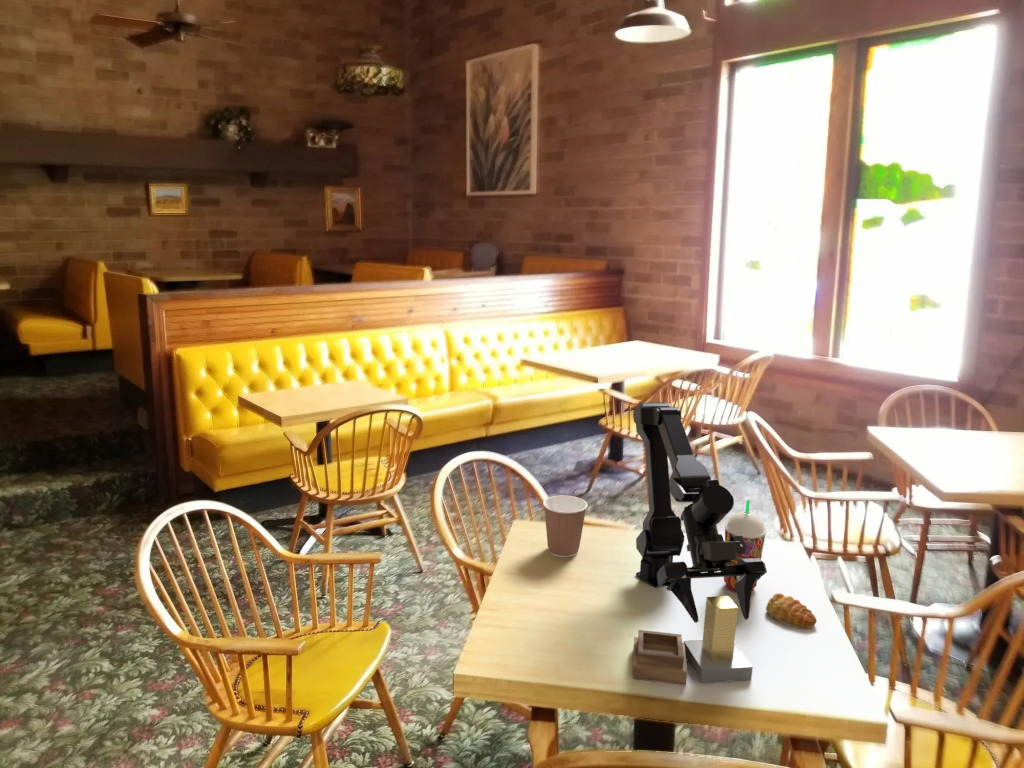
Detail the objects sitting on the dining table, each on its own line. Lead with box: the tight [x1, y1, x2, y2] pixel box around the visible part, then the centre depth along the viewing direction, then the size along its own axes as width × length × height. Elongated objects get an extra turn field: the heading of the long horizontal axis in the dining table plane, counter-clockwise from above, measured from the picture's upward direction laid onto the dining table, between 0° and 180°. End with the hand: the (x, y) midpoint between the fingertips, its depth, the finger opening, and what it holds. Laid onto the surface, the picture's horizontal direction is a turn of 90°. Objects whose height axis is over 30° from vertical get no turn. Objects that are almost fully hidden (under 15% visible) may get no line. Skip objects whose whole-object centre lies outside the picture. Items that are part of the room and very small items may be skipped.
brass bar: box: [702, 595, 739, 661], centre depth 133 cm, size 4×4×10 cm
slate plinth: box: [683, 639, 753, 684], centre depth 135 cm, size 9×9×2 cm
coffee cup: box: [542, 494, 588, 558], centre depth 177 cm, size 10×10×12 cm
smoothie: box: [723, 499, 767, 593], centre depth 161 cm, size 8×8×20 cm
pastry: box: [765, 592, 817, 630], centre depth 151 cm, size 9×7×4 cm
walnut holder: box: [632, 629, 688, 686], centre depth 134 cm, size 9×9×4 cm
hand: (721, 620), depth 132 cm, fingers open, 9 cm apart
